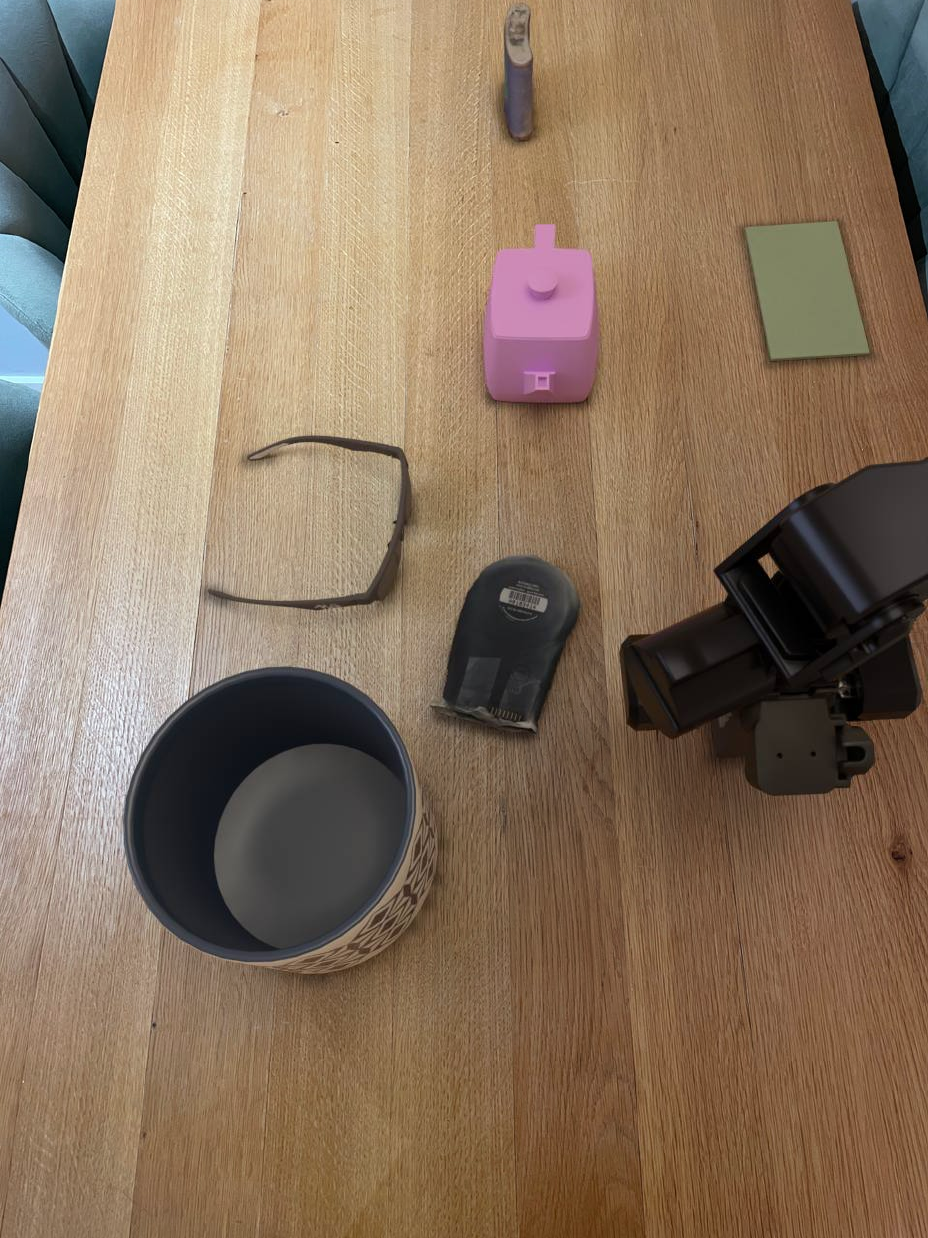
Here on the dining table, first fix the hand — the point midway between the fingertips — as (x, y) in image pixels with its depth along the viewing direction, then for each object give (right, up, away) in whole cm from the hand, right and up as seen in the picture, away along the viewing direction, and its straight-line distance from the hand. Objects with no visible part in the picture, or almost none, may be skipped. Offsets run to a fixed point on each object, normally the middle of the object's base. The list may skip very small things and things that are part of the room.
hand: (738, 712), depth 70 cm
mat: (+12, +38, +20) cm, 45 cm away
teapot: (-13, +31, +19) cm, 39 cm away
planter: (-31, -11, +3) cm, 33 cm away
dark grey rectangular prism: (0, -2, +4) cm, 4 cm away
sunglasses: (-33, +14, +13) cm, 38 cm away
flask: (-15, +62, +32) cm, 71 cm away
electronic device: (-17, +5, +8) cm, 19 cm away
